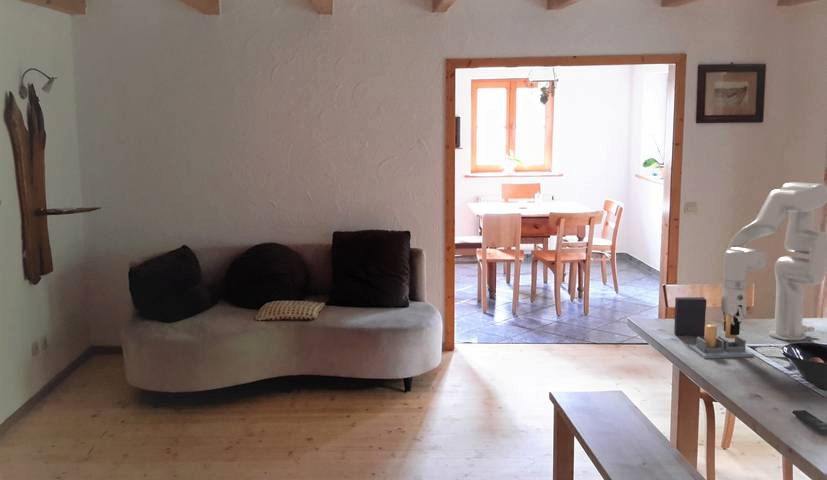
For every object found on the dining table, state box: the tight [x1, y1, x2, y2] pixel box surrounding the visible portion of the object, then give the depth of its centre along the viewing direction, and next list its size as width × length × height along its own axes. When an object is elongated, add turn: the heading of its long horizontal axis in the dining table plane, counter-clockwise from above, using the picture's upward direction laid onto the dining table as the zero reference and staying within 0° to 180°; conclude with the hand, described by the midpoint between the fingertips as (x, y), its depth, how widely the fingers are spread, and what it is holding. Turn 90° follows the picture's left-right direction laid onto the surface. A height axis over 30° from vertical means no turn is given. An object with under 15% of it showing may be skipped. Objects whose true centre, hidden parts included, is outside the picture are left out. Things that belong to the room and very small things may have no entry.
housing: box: [688, 323, 755, 359], centre depth 256 cm, size 18×13×10 cm
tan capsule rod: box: [724, 313, 738, 340], centre depth 255 cm, size 4×4×9 cm
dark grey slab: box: [673, 296, 707, 337], centre depth 277 cm, size 11×4×15 cm, turn 84°
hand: (731, 332), depth 256 cm, fingers closed on tan capsule rod, 4 cm apart
